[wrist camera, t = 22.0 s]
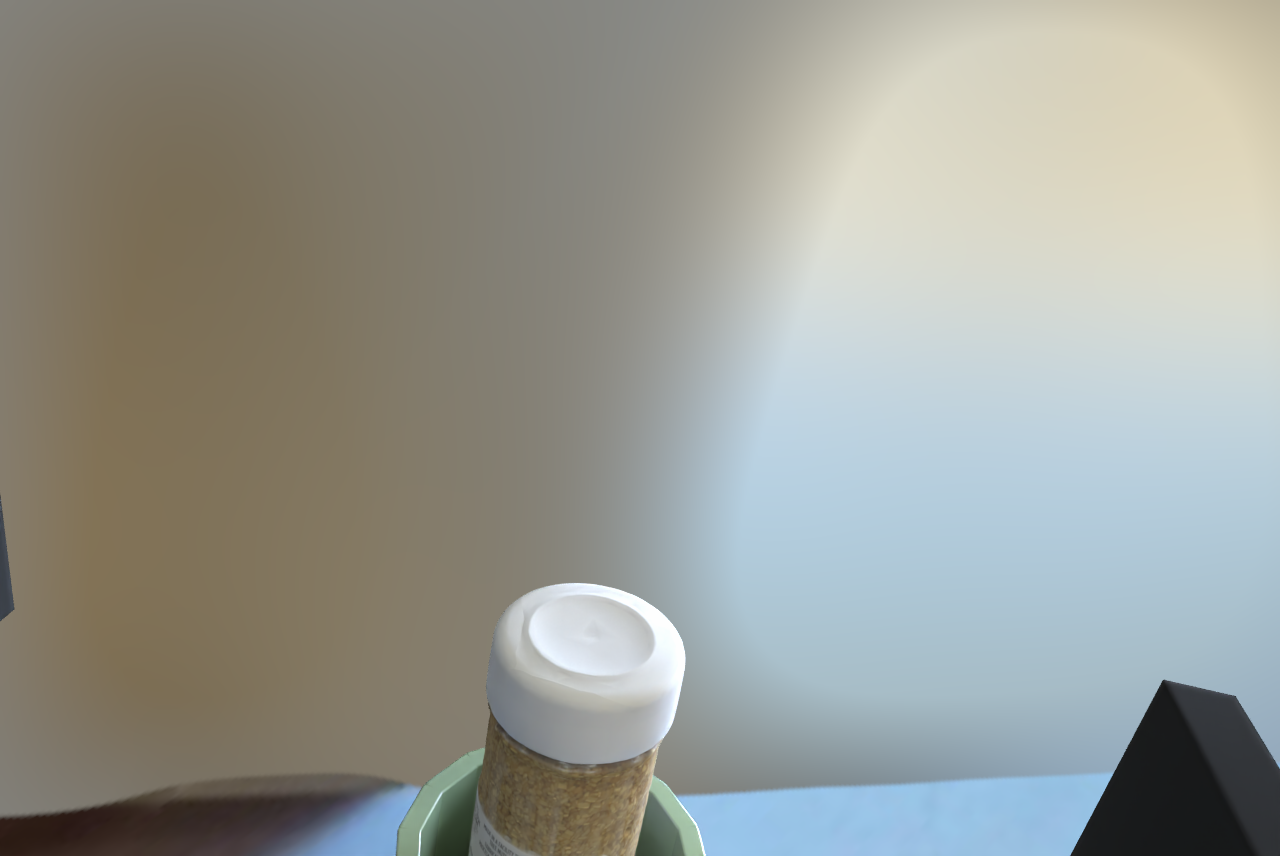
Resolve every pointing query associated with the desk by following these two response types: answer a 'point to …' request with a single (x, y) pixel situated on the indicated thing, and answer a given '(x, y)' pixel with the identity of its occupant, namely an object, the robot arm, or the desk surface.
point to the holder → (447, 801)
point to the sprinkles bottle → (574, 722)
